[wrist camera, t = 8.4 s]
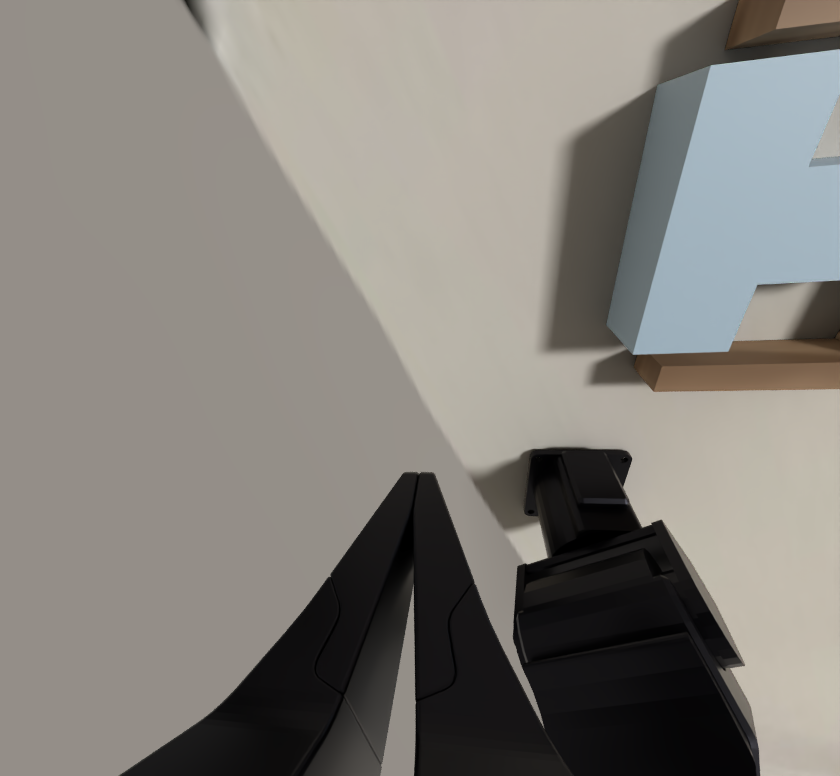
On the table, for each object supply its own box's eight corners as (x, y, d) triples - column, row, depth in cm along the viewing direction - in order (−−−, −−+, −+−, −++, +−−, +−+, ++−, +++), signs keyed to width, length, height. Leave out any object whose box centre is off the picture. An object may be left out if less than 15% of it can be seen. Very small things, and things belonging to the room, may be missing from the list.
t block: (836, 315, 18) (911, 345, 15) (606, 324, 19) (632, 354, 16) (994, 44, 12) (1160, 9, 9) (657, 84, 14) (710, 65, 11)
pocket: (850, 362, 19) (899, 388, 17) (633, 367, 20) (653, 391, 18) (1134, -64, 11) (1295, -116, 9) (741, -9, 12) (800, -44, 10)
